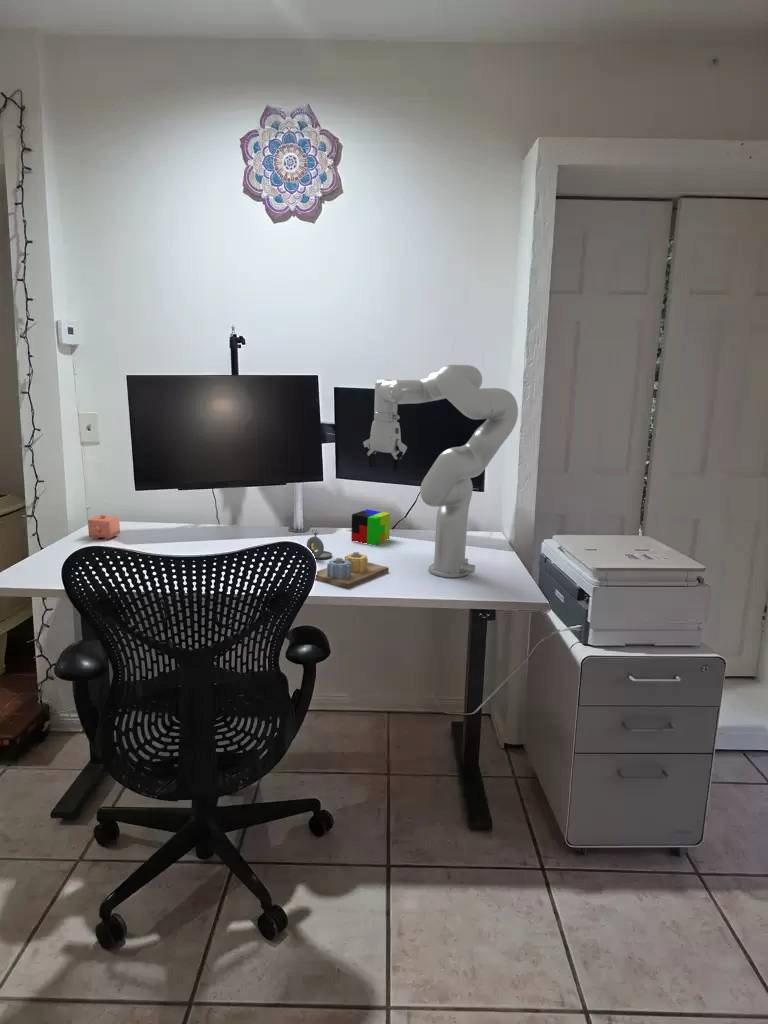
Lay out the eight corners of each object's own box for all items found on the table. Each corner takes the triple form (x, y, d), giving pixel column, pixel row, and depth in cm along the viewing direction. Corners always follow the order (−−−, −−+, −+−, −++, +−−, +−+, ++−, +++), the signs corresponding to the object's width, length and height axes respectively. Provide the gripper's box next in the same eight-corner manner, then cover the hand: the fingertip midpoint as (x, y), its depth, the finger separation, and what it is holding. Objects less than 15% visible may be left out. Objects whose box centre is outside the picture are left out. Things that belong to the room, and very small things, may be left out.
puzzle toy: (366, 535, 245) (366, 509, 242) (389, 539, 240) (390, 513, 237) (351, 541, 236) (351, 514, 234) (374, 546, 231) (375, 518, 229)
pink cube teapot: (84, 542, 225) (82, 518, 223) (102, 533, 236) (100, 510, 234) (105, 543, 224) (104, 520, 222) (123, 534, 235) (121, 512, 234)
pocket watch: (332, 554, 220) (333, 525, 218) (330, 561, 212) (331, 531, 210) (308, 553, 220) (308, 524, 218) (305, 560, 212) (305, 531, 210)
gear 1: (355, 574, 196) (355, 561, 195) (340, 580, 190) (340, 567, 189) (337, 569, 200) (337, 556, 199) (322, 575, 194) (322, 562, 193)
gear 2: (371, 568, 202) (372, 555, 201) (357, 573, 196) (358, 560, 196) (354, 563, 206) (354, 551, 205) (340, 568, 200) (340, 556, 199)
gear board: (388, 572, 203) (389, 552, 202) (347, 588, 188) (348, 567, 186) (353, 562, 211) (353, 543, 210) (311, 578, 196) (311, 557, 194)
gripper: (413, 419, 214) (411, 470, 218) (371, 415, 224) (370, 464, 228) (400, 420, 208) (398, 473, 212) (357, 416, 218) (356, 467, 222)
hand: (383, 468), depth 220 cm, fingers open, 9 cm apart
